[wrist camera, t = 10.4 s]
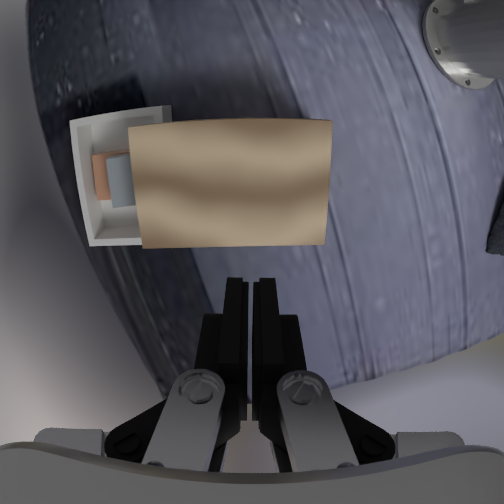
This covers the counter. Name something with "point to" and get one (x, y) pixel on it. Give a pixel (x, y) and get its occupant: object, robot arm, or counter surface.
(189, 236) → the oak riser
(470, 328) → the counter surface
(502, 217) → the black flat block
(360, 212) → the counter surface
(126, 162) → the slate tile
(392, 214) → the counter surface
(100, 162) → the terracotta tile
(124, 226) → the tray
